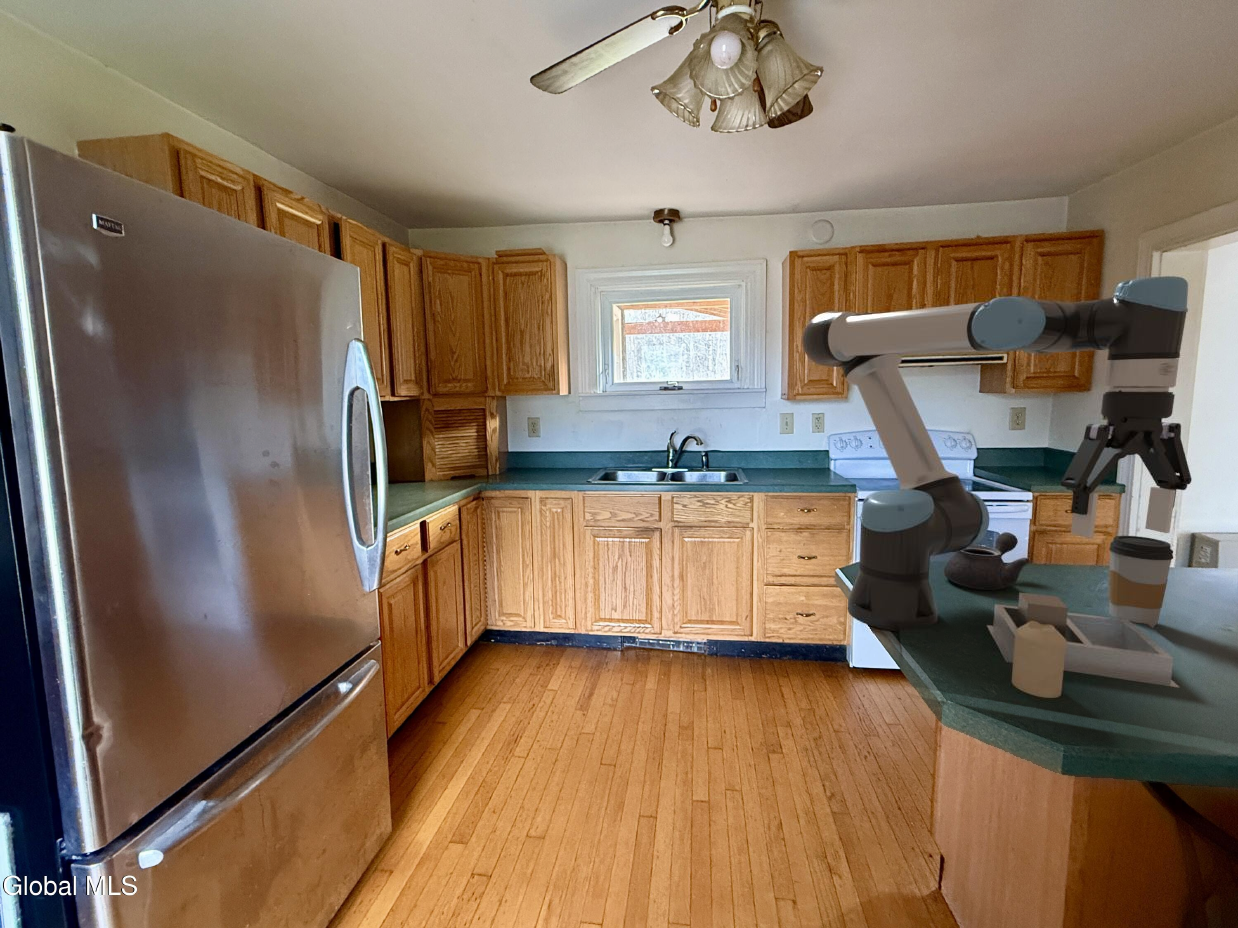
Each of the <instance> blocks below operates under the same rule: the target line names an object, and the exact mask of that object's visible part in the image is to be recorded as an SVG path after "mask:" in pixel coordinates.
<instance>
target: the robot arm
mask: <svg viewBox="0 0 1238 928" xmlns="http://www.w3.org/2000/svg"><path fill="white" fill-rule="evenodd" d="M1188 292H1189V283H1188V281H1187V280H1186V279H1185V278H1183V277H1181V276H1174V275H1171V276H1170V275H1169V276H1168V275H1166V276H1165V275H1164V276H1150V277H1143V278H1142V277H1141V278H1135V279H1131V280H1124V281H1123V282H1120V283H1119V284H1118V285H1116V288H1115V292H1114V293H1113V296H1112V297H1111V296H1110V297H1107V298H1102V299H1095V300H1085V301H1075V302H1065V301H1057V300H1047V299H1036V298H1029V297H1025V296H1022V295H1021V296H1020V295H1019V296H1018V295H1016V296H1013V295H1011V296H1001V297H996V298H992V299H991V300H989V301H986V302H983V301H982V302H973V303H964V304H955V305H954V304H953V305H945V306H944V305H943V306H936V307H927V308H919V309H907V310H899V311H890V312H882V313H881V312H880V313H879V312H878V313H875V312H863V313H861V312H860V313H859V312H852V311H837V310H836V311H834V310H833V311H826V312H821V313H820V314H817V315H816V316H815V317H813V318H812V319H811V320H810V321H809V322H808V323H807V325H806V326H805V328H804V331H803V333H802V338H801V339H802V341H801V343H802V347H803V351H804V353H805V354H806V356H807V358H809V359H810V361H811V362H813V363H815V364H817V365H819V366H823V367H832V368H833V367H834V368H835V367H836V368H840V369H841V371H842V373H843V376H844V378H845V380H846V382H847V383H848V384H851V385H853V386H857V389H858V391H859V393H860V396H861V398H862V400H863V402H864V405H865V407H866V410H867V412H868V415H869V416H870V418H871V420H872V421H871V422H872V423H873V425H874V428H875V430H876V432H877V435H878V437H879V440H880V441H881V444H882V446H883V448H884V450H885V453H886V455H887V457H888V460H889V462H890V464H891V467H892V468H893V472H894V473H895V476H896V477H897V478H896V479H898V483H899V486H900V488H896V489H884V490H879V491H876V492H871V493H870V494H868V495H867V496H866V497H865V498H864V499H863V502H862V505H861V506H862V507H861V513H860V518H859V519H860V520H859V521H860V537H859V538H860V541H859V566H858V567H859V569H858V574H857V576H856V579H855V581H854V584H853V585H852V588H851V591H850V593H849V596H848V599H847V612H848V614H849V615H850V617H852V618H853V619H855V620H856V621H858V622H861V623H862V624H865V625H868V626H870V627H873V628H878V629H880V630H881V629H882V630H886V631H890V632H891V631H892V632H900V630H899V628H900V629H920V628H927V627H930V626H933V625H934V624H936V623H937V621H938V615H939V614H938V613H939V611H938V608H937V604H936V601H935V597H934V595H933V591H932V587H931V584H930V580H929V579H930V562H931V557H935V556H940V555H944V554H948V553H955V552H958V551H961V550H965V549H967V548H969V547H972V546H974V545H977V544H979V543H980V542H981V541H982V540H983V538H985V536H986V534H987V531H988V530H989V526H990V513H989V510H988V507H987V505H986V503H985V501H984V500H983V499H982V498H981V497H980V496H979V495H977V494H976V493H973V492H972V491H970V490H968V489H965V487H964V485H963V483H962V481H961V479H960V477H959V475H958V474H955V473H953V472H950V471H948V470H947V469H946V468H945V466H944V464H943V462H942V459H941V457H940V455H939V453H938V450H937V449H936V446H935V445H934V442H933V440H932V437H931V436H930V434H929V431H928V430H927V427H926V426H925V423H924V422H923V419H922V416H921V414H920V413H919V410H918V409H917V406H916V404H915V402H914V400H913V398H912V395H911V393H910V391H909V390H908V387H907V385H906V383H905V381H904V378H903V376H902V374H901V372H900V370H899V366H900V364H901V362H902V360H903V358H902V356H901V355H910V354H913V355H915V354H916V355H917V354H937V353H938V354H940V353H942V354H943V353H944V354H945V353H969V352H970V353H971V352H1006V351H1007V352H1009V351H1011V352H1013V351H1015V352H1016V351H1017V352H1024V353H1026V354H1027V353H1028V354H1046V355H1049V354H1053V353H1068V352H1070V353H1071V352H1072V353H1073V352H1081V351H1083V352H1085V351H1106V350H1107V351H1108V352H1107V353H1108V354H1107V360H1106V365H1105V366H1106V367H1105V375H1104V381H1103V382H1104V383H1103V387H1105V388H1107V389H1108V391H1105V392H1104V393H1103V394H1102V401H1101V410H1100V414H1101V416H1103V417H1106V424H1100V423H1099V424H1098V423H1089V424H1087V425H1086V427H1085V431H1084V435H1083V440H1082V442H1081V443H1080V445H1079V447H1078V449H1077V451H1076V452H1075V454H1074V456H1073V458H1072V460H1071V462H1070V464H1069V466H1068V468H1067V470H1066V471H1065V474H1064V475H1063V477H1062V478H1061V481H1060V486H1061V487H1063V488H1065V489H1066V490H1069V491H1072V501H1071V507H1070V508H1071V513H1072V516H1071V517H1072V519H1071V525H1070V534H1072V535H1076V536H1079V537H1083V538H1085V539H1086V538H1087V539H1093V538H1094V534H1095V533H1094V532H1095V527H1096V526H1095V525H1096V524H1095V523H1096V517H1097V511H1098V510H1097V507H1098V501H1099V493H1094V491H1095V490H1096V489H1097V487H1098V486H1099V485H1100V484H1101V483H1102V481H1103V480H1104V479H1105V478H1106V477H1107V475H1108V474H1109V473H1110V472H1111V470H1112V469H1113V468H1114V466H1115V465H1116V464H1117V463H1118V462H1119V461H1120V460H1121V459H1124V458H1127V456H1133V455H1137V456H1139V458H1140V459H1141V462H1142V463H1143V464H1144V466H1145V467H1146V469H1147V472H1149V474H1150V477H1152V479H1153V481H1154V483H1155V484H1156V486H1151V487H1150V492H1149V499H1148V504H1147V505H1148V506H1147V511H1146V512H1147V513H1146V518H1145V519H1146V521H1145V528H1144V529H1146V530H1150V531H1155V532H1158V533H1159V532H1160V533H1164V534H1170V533H1171V532H1170V531H1171V524H1172V518H1173V511H1174V507H1175V504H1176V495H1177V490H1179V491H1186V490H1187V488H1188V485H1190V484H1191V482H1192V480H1193V479H1192V475H1191V471H1190V469H1189V464H1188V461H1187V457H1186V456H1187V455H1186V452H1185V449H1184V445H1183V442H1182V437H1181V436H1182V424H1181V423H1179V422H1165V421H1163V419H1169V418H1170V417H1171V416H1172V415H1173V411H1174V410H1173V409H1174V403H1175V395H1176V394H1174V392H1172V391H1170V389H1171V388H1172V389H1173V388H1175V387H1176V385H1177V378H1178V369H1179V362H1180V361H1179V360H1180V356H1181V349H1182V342H1183V336H1184V331H1185V323H1186V318H1187V313H1188V312H1189V308H1188ZM1162 421H1163V422H1162ZM1178 474H1179V475H1178Z"/></svg>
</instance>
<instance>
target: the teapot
mask: <svg viewBox="0 0 1238 928" xmlns="http://www.w3.org/2000/svg"><path fill="white" fill-rule="evenodd" d="M1017 545H1018V537H1017V536H1016V534H1015V535H1014V534H1013V533H1012V532H1007V531H1005V532H1002V533H1001V534H999V535H998V536H997V538H996V541H995V547H994V548H993V547H989V546H984V545H977V544H975V545H974V546H972V547H969V548H967V549H965V550H961V551H958V552H954V553H953V555H952V556H951V557H950V558H949V559H948V561H947V562H946V563H945V566H944V568H943V573H944V576H945V578H946V579H948V580H949V581H951V582H953V583H955V584H958V585H960V586H963V587H967V588H970V589H975V590H983V591H986V590H989V591H990V590H991V591H992V590H1001V589H1005V588H1008V587H1011V586H1012V585H1014V584H1016V583H1017V582H1018V578H1019V576H1020V574H1021V571H1022V570H1023V568H1024V567H1026V566H1027V565H1029V564H1030V563H1031V560H1029V559H1028V558H1027V557H1021V558H1018V559H1016V560H1013V561H1011V562H1008V563H1005V562H1004V560H1003V558H1002V557H1003V555H1005V554H1006V553H1007V554H1008V553H1009V552H1011V551H1013V550H1014V549H1015V548H1016V546H1017Z"/></svg>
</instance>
